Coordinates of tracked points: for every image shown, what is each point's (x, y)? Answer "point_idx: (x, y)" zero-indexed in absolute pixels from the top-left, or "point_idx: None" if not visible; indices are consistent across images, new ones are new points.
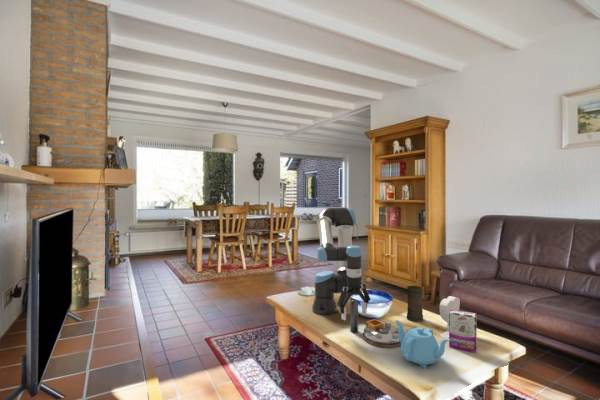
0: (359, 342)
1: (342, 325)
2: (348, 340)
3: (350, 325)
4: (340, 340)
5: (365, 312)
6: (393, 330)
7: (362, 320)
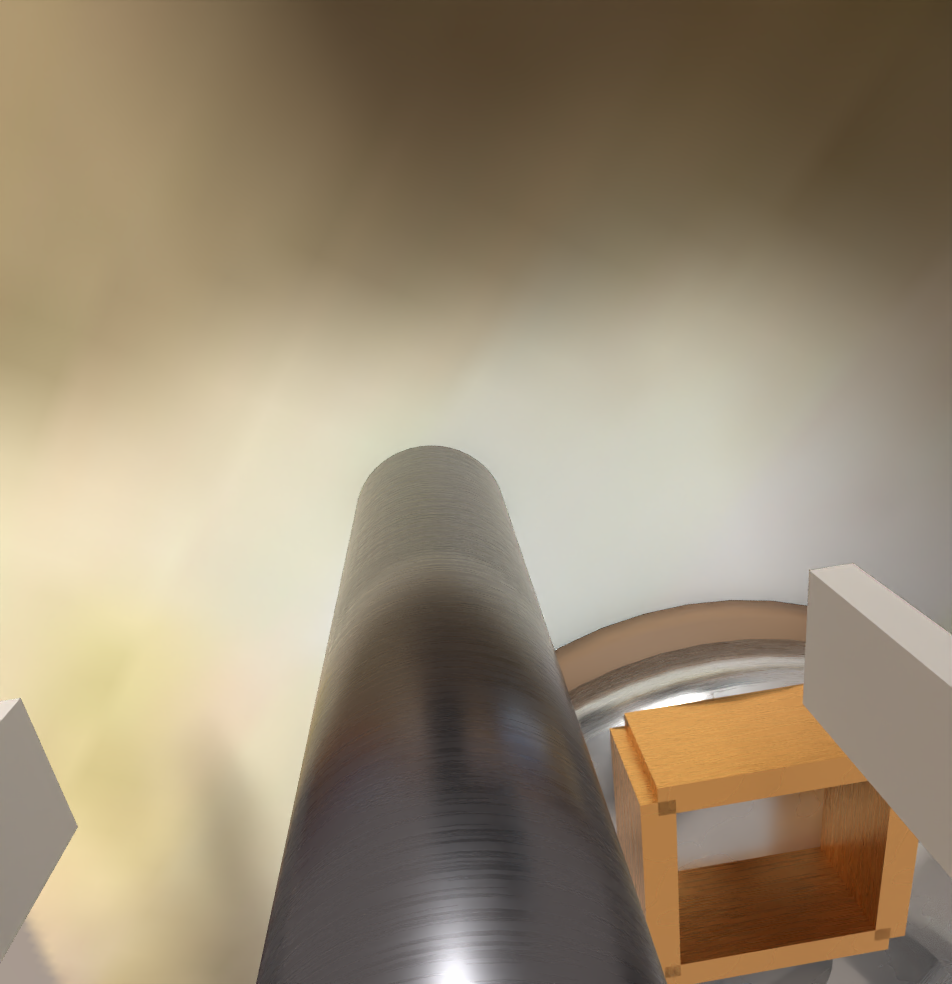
0: None
1: (339, 154)
2: (163, 771)
3: (345, 559)
4: None
5: (860, 764)
6: (894, 950)
7: (941, 83)
